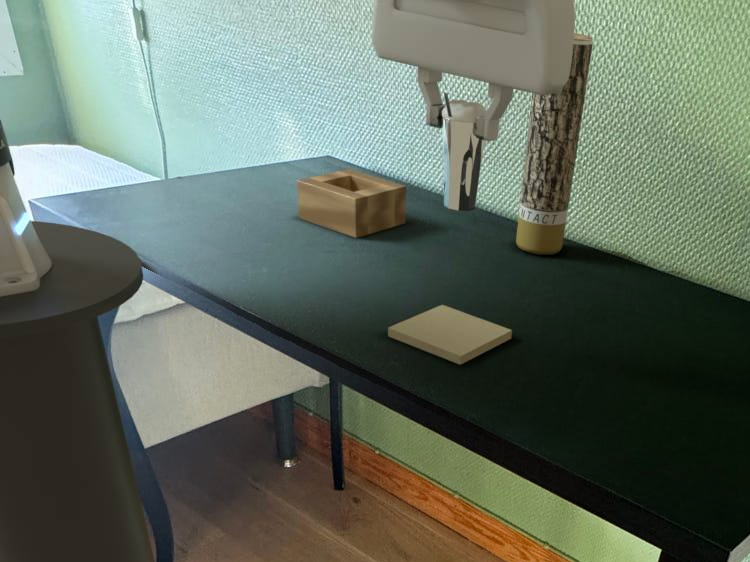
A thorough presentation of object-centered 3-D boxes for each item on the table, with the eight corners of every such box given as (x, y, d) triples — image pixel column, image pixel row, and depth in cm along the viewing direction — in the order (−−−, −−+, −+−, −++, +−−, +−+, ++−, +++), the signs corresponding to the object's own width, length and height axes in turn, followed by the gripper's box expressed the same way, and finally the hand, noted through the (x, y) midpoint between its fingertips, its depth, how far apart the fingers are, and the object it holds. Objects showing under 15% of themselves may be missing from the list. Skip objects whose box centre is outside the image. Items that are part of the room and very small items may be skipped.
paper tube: (526, 237, 119) (551, 29, 102) (568, 248, 117) (601, 37, 100) (507, 249, 115) (530, 32, 98) (551, 260, 113) (582, 41, 96)
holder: (356, 238, 112) (355, 199, 109) (298, 218, 116) (296, 180, 113) (405, 223, 119) (406, 186, 116) (349, 205, 123) (349, 168, 120)
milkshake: (422, 206, 81) (426, 87, 74) (457, 198, 84) (464, 84, 77) (456, 217, 79) (464, 97, 72) (490, 209, 82) (500, 93, 76)
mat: (460, 365, 85) (460, 355, 84) (387, 336, 89) (387, 327, 88) (511, 338, 92) (512, 330, 91) (441, 312, 95) (442, 304, 94)
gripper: (355, -73, 69) (358, 114, 79) (556, -42, 62) (532, 160, 71) (401, -70, 73) (398, 108, 83) (595, -40, 66) (567, 151, 75)
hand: (461, 133), depth 77 cm, fingers closed on milkshake, 4 cm apart
